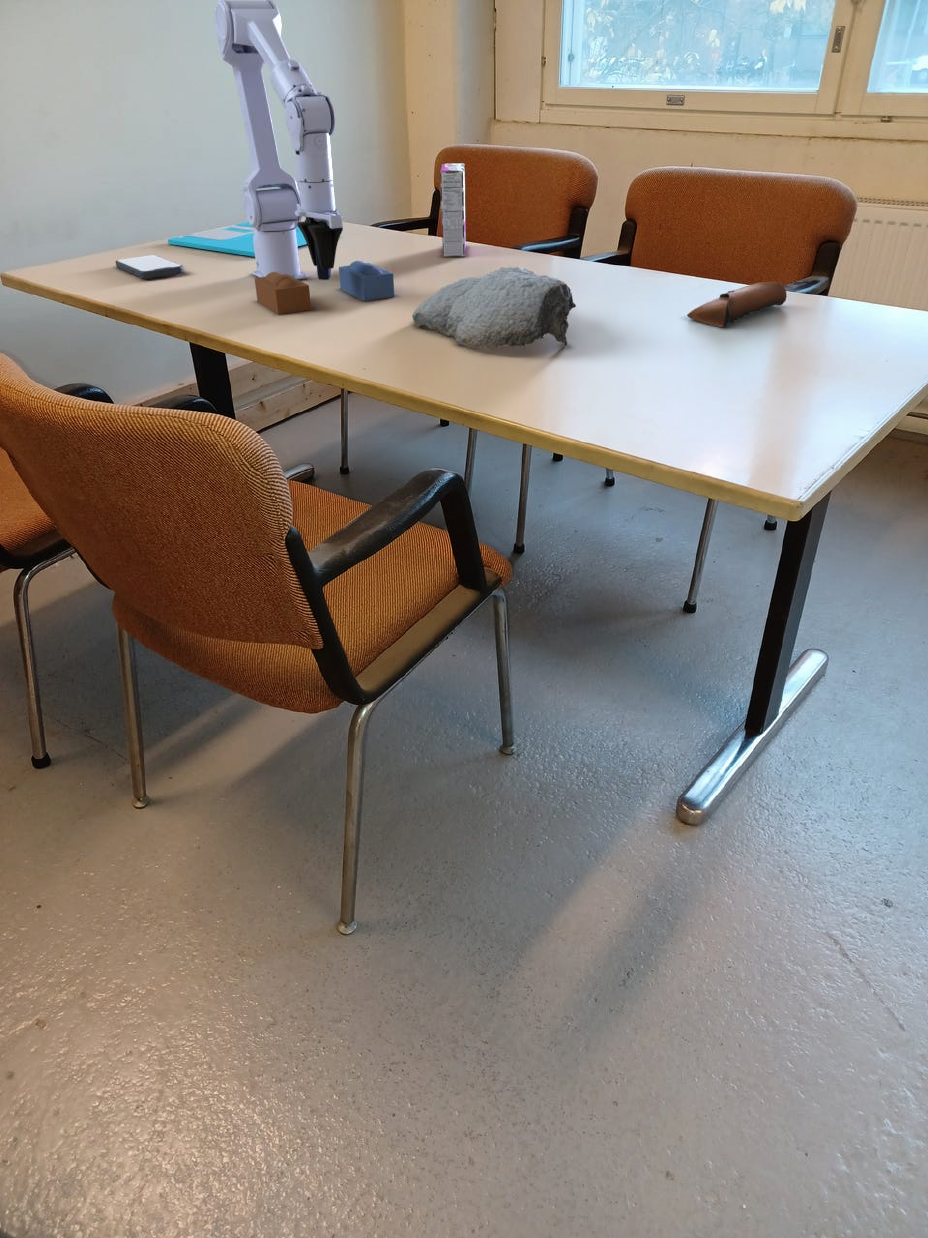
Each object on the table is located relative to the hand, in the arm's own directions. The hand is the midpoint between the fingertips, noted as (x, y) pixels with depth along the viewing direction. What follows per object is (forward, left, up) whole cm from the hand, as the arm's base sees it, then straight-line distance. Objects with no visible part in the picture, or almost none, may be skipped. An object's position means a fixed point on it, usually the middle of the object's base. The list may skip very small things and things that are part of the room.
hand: (323, 266), depth 153 cm
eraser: (0, 0, -2) cm, 2 cm away
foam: (+33, +14, -6) cm, 36 cm away
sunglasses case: (+46, +53, -6) cm, 71 cm away
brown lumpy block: (0, -8, -6) cm, 10 cm away
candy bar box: (-22, +39, -6) cm, 46 cm away
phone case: (-40, -21, -6) cm, 45 cm away
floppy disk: (-57, +7, -6) cm, 58 cm away
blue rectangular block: (0, +8, -6) cm, 10 cm away
